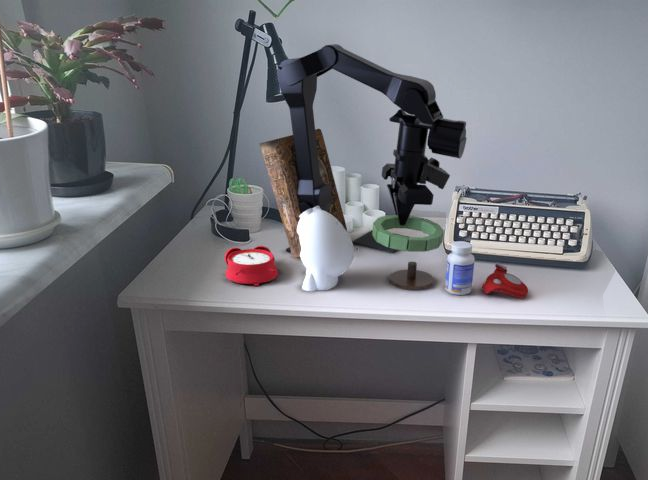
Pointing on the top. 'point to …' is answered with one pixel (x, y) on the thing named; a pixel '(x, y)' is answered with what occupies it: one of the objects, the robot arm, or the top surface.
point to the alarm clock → (250, 265)
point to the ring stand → (411, 278)
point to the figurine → (323, 249)
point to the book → (285, 183)
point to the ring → (408, 242)
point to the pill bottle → (460, 268)
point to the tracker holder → (504, 283)
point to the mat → (372, 243)
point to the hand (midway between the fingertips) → (401, 223)
